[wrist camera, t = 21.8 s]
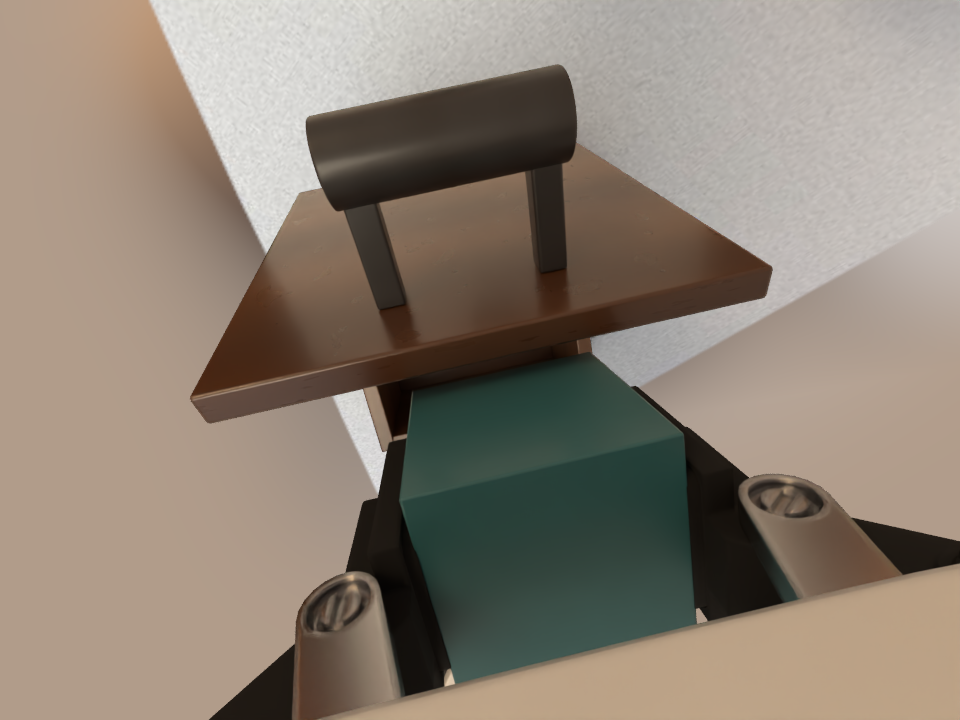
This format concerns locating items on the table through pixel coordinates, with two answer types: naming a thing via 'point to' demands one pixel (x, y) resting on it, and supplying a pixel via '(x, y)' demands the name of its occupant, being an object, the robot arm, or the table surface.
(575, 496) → the block
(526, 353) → the chest
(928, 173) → the table surface
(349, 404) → the table surface
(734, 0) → the table surface
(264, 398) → the lid
